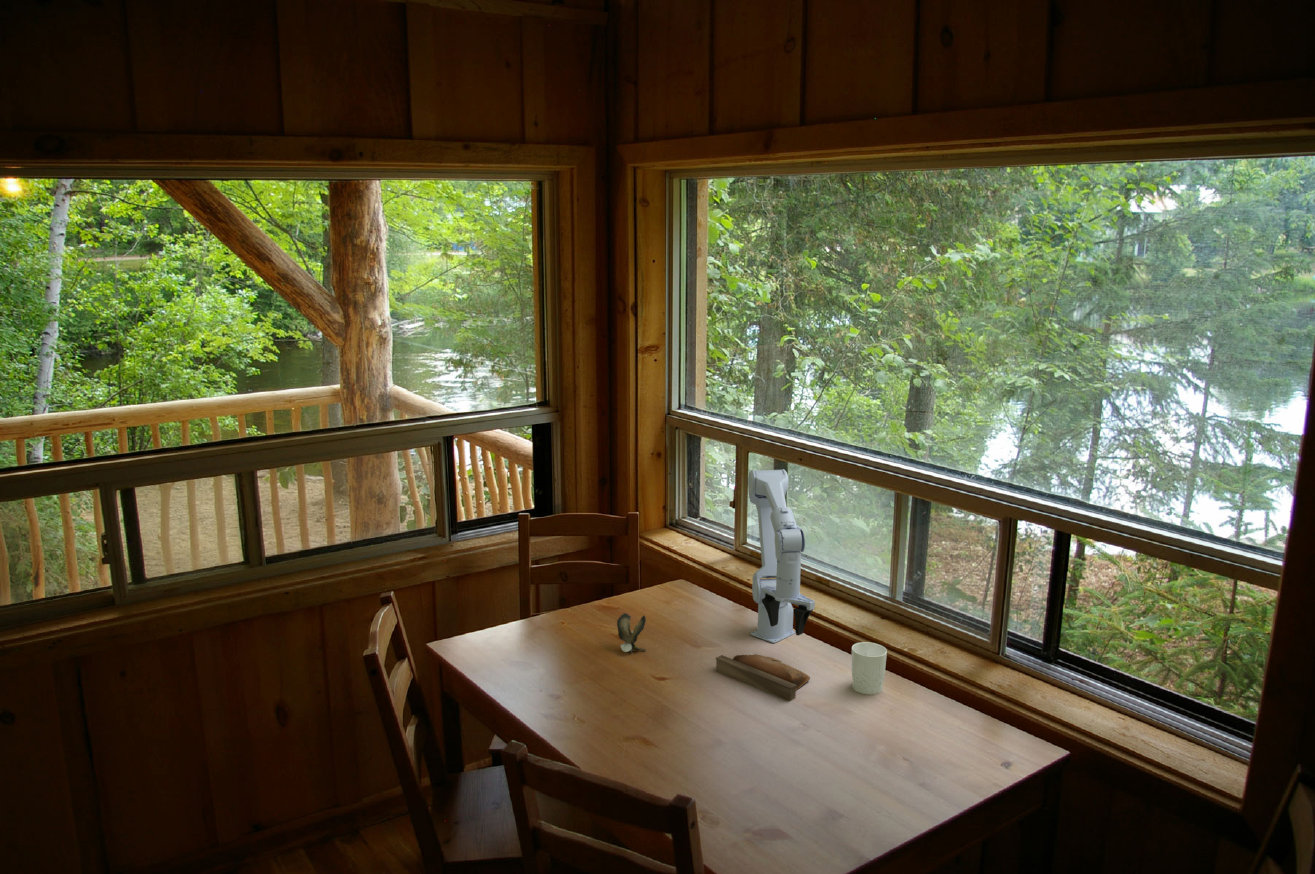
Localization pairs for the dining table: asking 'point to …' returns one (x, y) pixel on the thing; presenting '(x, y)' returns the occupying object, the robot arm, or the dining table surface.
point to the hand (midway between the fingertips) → (786, 629)
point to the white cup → (868, 667)
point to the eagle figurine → (629, 632)
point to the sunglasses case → (774, 668)
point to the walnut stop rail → (756, 677)
